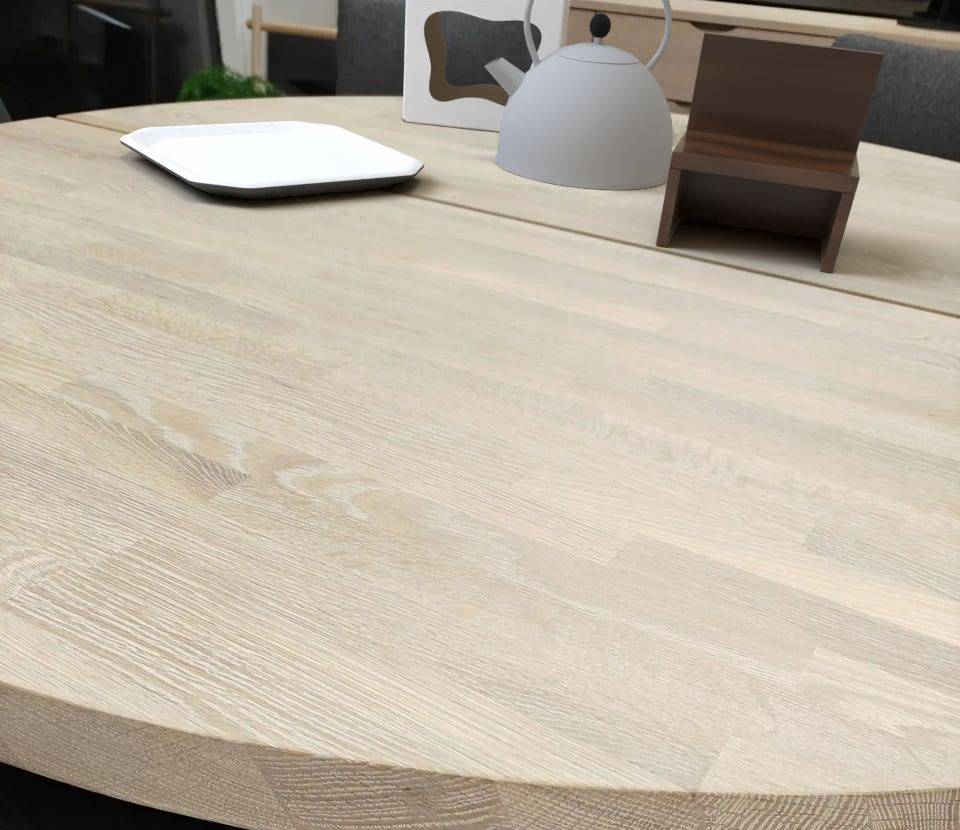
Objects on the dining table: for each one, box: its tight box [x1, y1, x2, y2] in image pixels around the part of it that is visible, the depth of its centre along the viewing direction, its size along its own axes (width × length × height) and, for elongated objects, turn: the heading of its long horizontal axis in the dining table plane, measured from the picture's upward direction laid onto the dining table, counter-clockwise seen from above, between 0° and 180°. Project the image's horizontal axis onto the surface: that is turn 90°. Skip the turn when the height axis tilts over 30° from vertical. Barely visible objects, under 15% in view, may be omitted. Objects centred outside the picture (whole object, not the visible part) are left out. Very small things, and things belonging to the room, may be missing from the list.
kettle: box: [484, 0, 674, 191], centre depth 123 cm, size 25×23×22 cm
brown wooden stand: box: [655, 31, 885, 274], centre depth 102 cm, size 14×18×18 cm
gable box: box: [402, 0, 571, 133], centre depth 141 cm, size 22×13×28 cm, turn 82°
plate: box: [119, 120, 425, 200], centre depth 116 cm, size 29×29×2 cm
